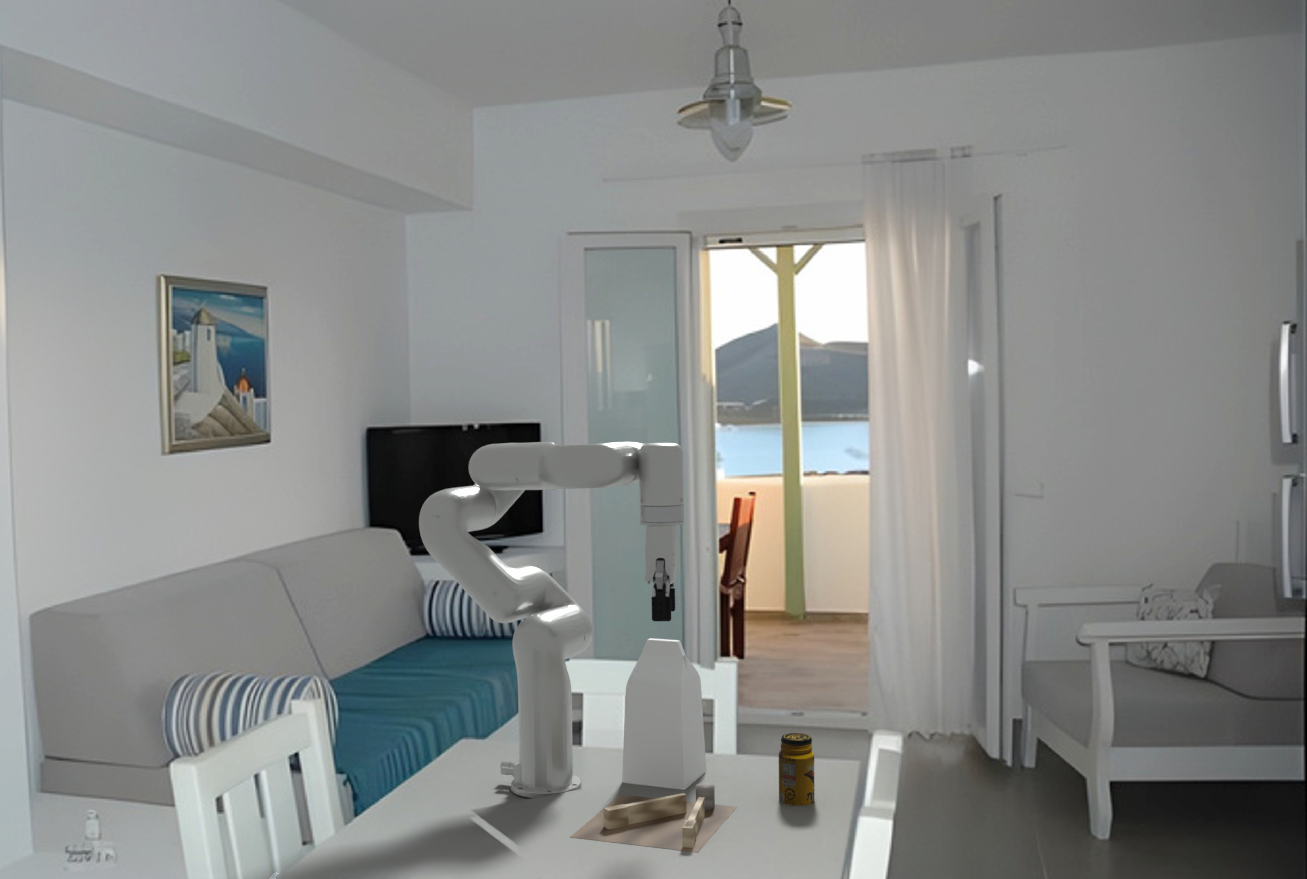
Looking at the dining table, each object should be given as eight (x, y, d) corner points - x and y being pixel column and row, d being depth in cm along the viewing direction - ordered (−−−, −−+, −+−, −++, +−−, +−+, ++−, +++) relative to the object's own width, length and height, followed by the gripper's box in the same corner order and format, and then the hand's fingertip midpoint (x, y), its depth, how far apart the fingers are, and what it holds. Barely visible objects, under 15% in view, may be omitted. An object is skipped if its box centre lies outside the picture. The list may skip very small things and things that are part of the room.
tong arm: (682, 810, 206) (682, 792, 206) (687, 813, 205) (687, 795, 205) (603, 826, 199) (603, 808, 199) (608, 829, 197) (608, 810, 197)
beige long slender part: (697, 803, 209) (697, 782, 209) (715, 804, 209) (715, 783, 209) (677, 846, 189) (677, 823, 189) (697, 848, 189) (697, 824, 189)
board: (569, 843, 194) (569, 837, 194) (620, 800, 215) (620, 794, 215) (697, 858, 187) (697, 852, 187) (737, 812, 208) (737, 806, 208)
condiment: (825, 807, 210) (824, 737, 210) (786, 817, 205) (786, 745, 205) (797, 796, 216) (797, 728, 216) (759, 805, 212) (758, 736, 211)
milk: (621, 788, 222) (620, 643, 221) (646, 770, 232) (644, 632, 232) (684, 795, 217) (683, 648, 216) (706, 776, 228) (705, 636, 227)
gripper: (644, 511, 219) (646, 607, 220) (634, 520, 202) (636, 625, 203) (687, 511, 219) (688, 607, 219) (680, 520, 201) (682, 625, 202)
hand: (663, 615), depth 211 cm, fingers open, 9 cm apart
